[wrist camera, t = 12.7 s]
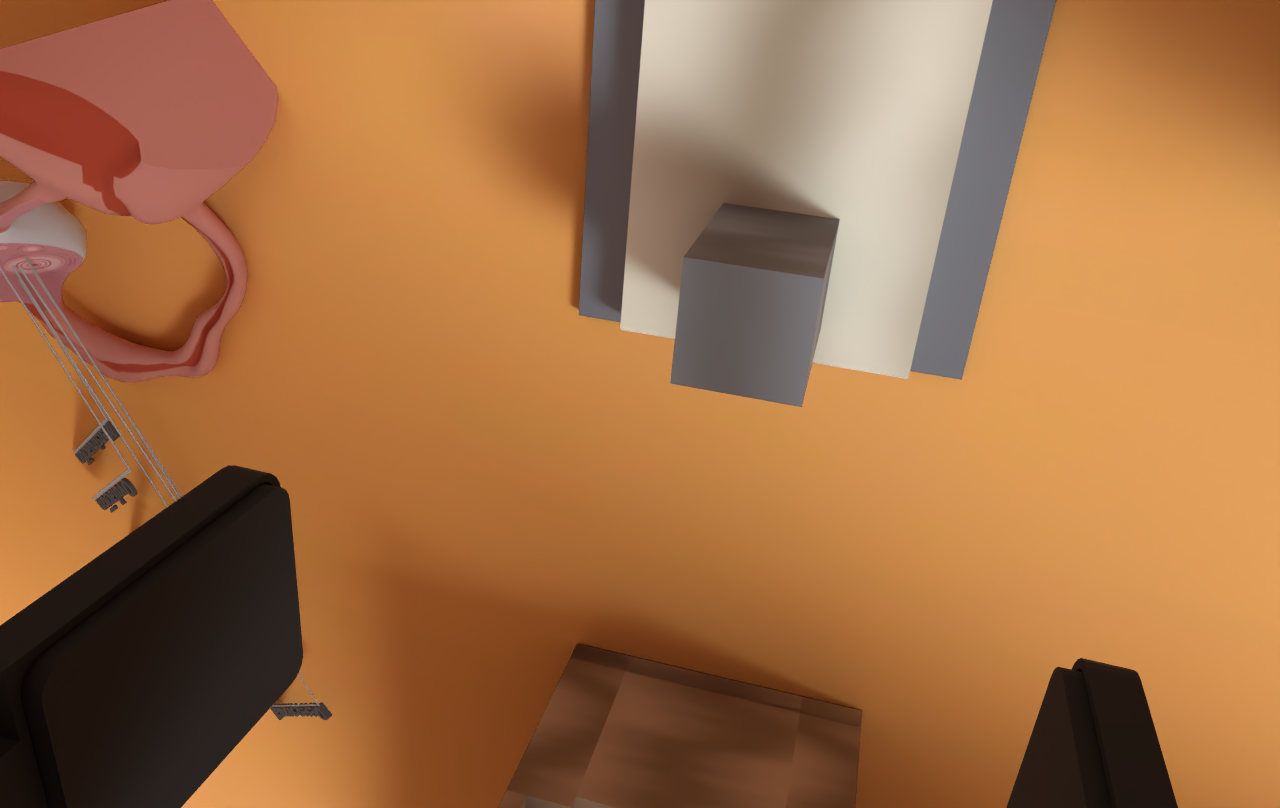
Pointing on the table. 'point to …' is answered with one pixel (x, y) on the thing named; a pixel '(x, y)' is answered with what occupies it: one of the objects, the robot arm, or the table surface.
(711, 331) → the lid
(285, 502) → the robot arm
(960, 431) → the table surface
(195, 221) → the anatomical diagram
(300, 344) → the table surface
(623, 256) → the mat
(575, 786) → the box
